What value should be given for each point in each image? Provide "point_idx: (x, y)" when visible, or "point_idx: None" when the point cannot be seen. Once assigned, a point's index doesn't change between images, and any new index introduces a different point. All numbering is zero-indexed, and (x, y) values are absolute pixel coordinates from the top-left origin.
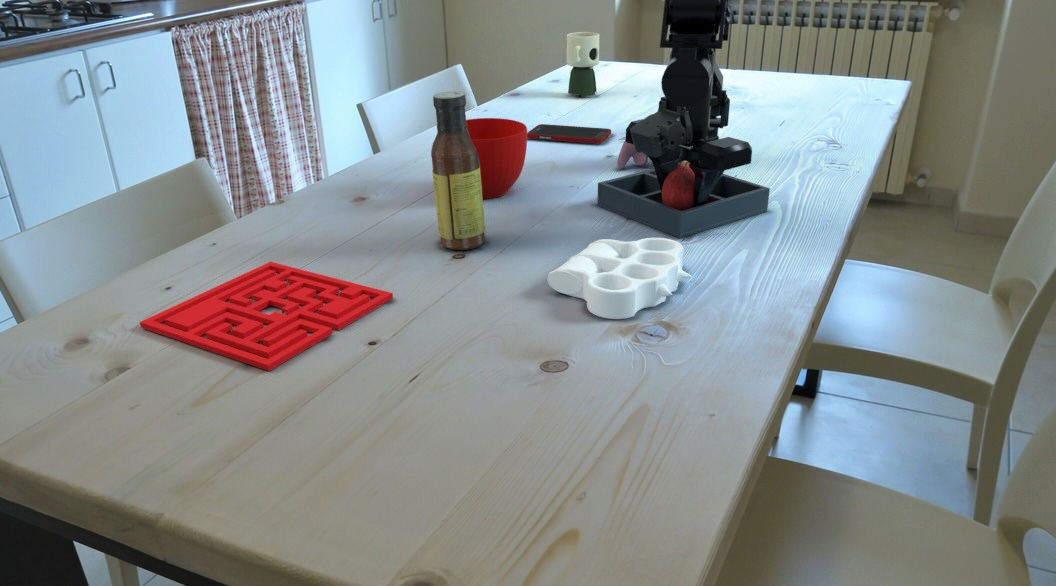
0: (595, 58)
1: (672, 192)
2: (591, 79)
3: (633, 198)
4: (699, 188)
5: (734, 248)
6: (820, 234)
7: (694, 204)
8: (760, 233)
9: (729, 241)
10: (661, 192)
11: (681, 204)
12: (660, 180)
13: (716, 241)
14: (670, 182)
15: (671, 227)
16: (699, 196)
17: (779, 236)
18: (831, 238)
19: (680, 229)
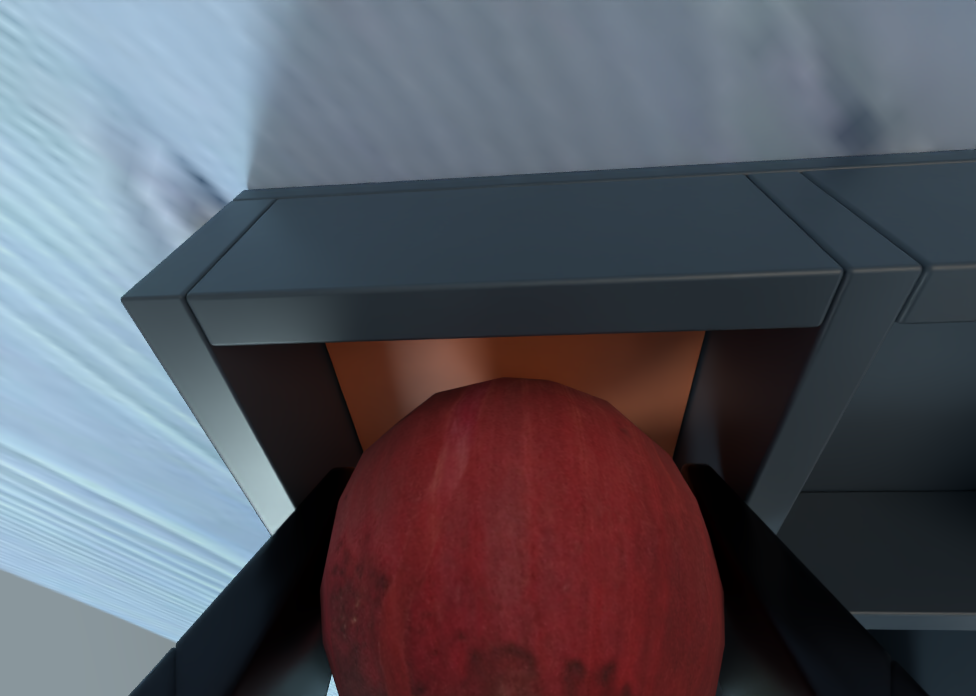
0: None
1: (443, 504)
2: None
3: (946, 249)
4: (164, 661)
5: (2, 341)
6: (141, 599)
7: (329, 495)
8: (201, 512)
9: (123, 382)
10: (737, 494)
11: (380, 440)
12: (794, 605)
13: (136, 336)
14: (517, 624)
15: (317, 210)
16: (243, 574)
17: (148, 532)
18: (96, 597)
19: (209, 222)
